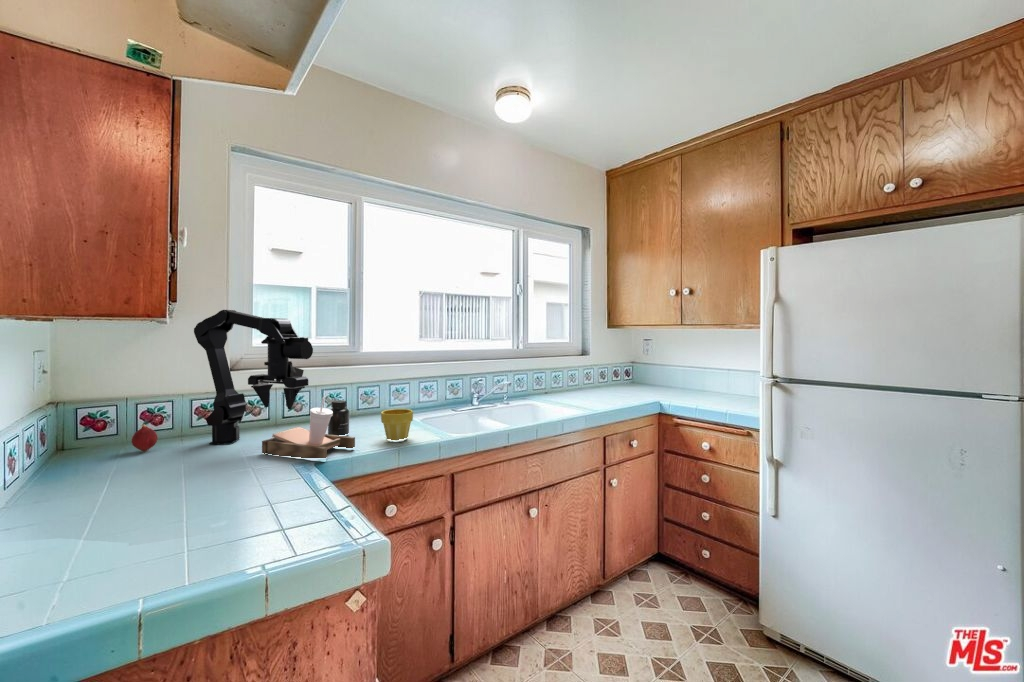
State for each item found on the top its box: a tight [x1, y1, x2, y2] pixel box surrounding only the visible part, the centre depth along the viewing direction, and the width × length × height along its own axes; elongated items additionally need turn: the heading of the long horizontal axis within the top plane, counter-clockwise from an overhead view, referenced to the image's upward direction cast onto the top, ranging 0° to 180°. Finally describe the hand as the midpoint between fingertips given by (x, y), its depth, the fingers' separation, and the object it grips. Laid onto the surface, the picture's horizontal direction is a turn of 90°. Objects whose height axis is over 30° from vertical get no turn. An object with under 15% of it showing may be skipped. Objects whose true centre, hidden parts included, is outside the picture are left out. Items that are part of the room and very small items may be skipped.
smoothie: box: [309, 396, 333, 444], centre depth 126 cm, size 6×6×14 cm
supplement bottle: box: [327, 400, 350, 435], centre depth 148 cm, size 7×7×12 cm
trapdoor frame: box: [261, 433, 356, 458], centre depth 128 cm, size 22×13×4 cm, turn 72°
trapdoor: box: [271, 426, 341, 450], centre depth 128 cm, size 16×10×5 cm, turn 73°
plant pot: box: [380, 408, 414, 440], centre depth 143 cm, size 10×10×10 cm
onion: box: [131, 424, 159, 453], centre depth 126 cm, size 6×6×8 cm
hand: (278, 408), depth 133 cm, fingers open, 9 cm apart
